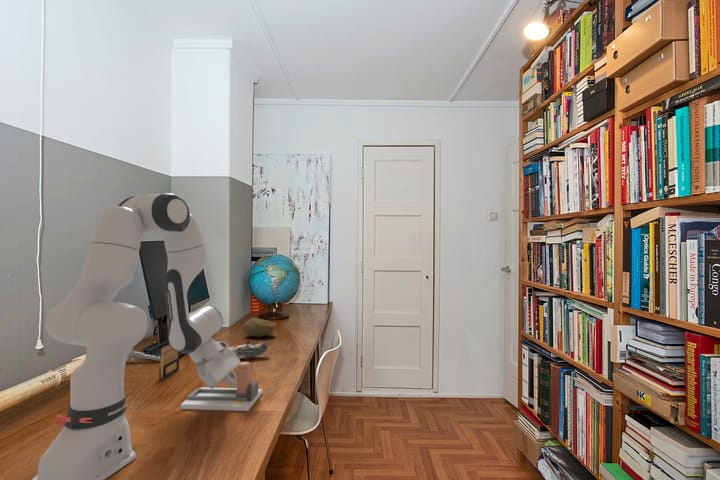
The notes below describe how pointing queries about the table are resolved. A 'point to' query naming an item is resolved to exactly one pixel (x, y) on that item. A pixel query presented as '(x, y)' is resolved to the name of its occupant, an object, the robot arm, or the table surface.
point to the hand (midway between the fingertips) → (237, 385)
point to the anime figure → (249, 350)
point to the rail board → (222, 399)
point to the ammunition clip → (168, 362)
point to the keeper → (243, 378)
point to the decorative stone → (258, 327)
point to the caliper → (141, 356)
